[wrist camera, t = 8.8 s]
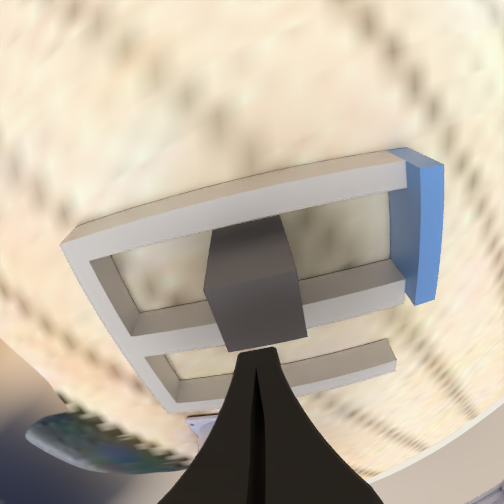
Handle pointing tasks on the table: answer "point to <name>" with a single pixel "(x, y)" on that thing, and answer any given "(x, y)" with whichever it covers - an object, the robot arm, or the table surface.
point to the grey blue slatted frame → (312, 290)
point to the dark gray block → (254, 285)
